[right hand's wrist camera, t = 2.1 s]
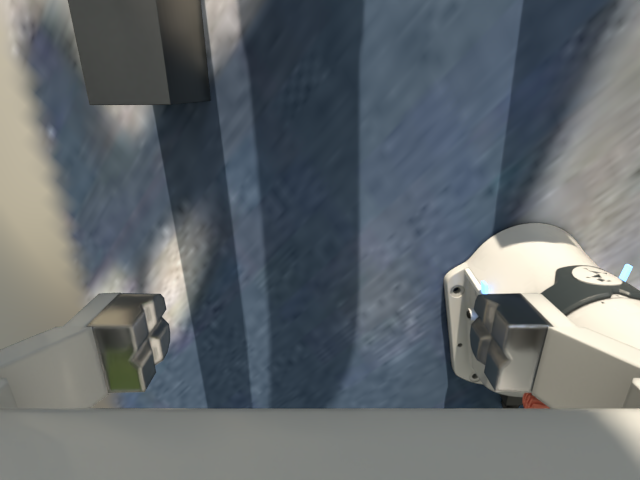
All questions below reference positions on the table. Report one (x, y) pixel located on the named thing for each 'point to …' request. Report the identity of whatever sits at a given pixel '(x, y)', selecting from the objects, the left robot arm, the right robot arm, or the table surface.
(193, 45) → the box
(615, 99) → the table surface
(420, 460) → the right robot arm
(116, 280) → the table surface
